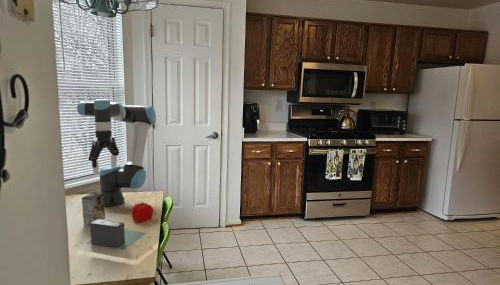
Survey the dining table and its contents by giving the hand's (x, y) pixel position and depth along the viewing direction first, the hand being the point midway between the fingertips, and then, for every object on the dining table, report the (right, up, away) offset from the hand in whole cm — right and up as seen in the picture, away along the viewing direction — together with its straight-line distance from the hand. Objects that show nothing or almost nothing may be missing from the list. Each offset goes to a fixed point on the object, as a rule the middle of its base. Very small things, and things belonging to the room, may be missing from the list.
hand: (105, 170), depth 171 cm
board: (+12, -32, -15) cm, 37 cm away
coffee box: (-7, -29, +2) cm, 30 cm away
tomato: (+17, -28, +8) cm, 34 cm away
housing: (+11, -31, -22) cm, 39 cm away
